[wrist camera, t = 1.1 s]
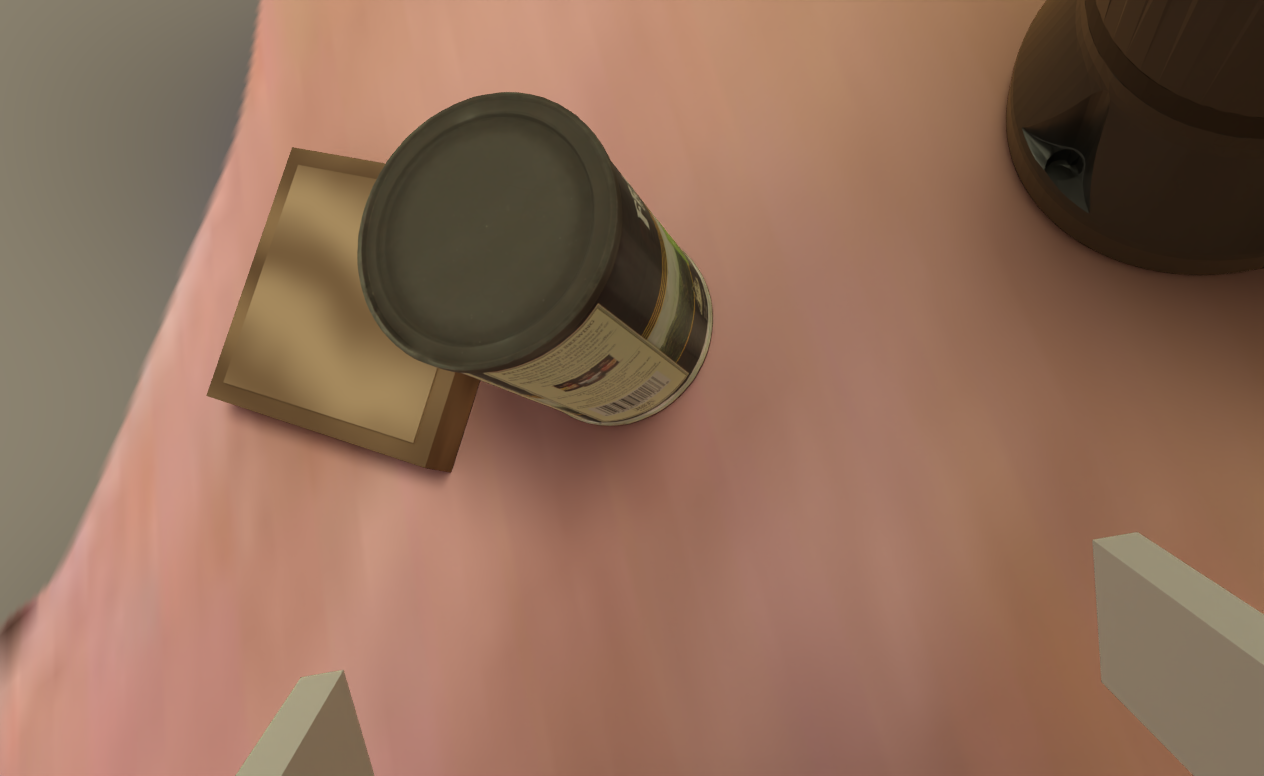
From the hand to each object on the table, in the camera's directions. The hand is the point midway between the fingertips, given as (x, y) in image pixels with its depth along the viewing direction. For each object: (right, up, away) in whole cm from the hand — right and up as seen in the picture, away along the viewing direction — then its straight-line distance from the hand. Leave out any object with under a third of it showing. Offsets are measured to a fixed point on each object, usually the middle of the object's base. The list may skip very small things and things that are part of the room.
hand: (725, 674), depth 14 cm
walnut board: (-16, +9, +33) cm, 37 cm away
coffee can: (-2, +8, +28) cm, 29 cm away
